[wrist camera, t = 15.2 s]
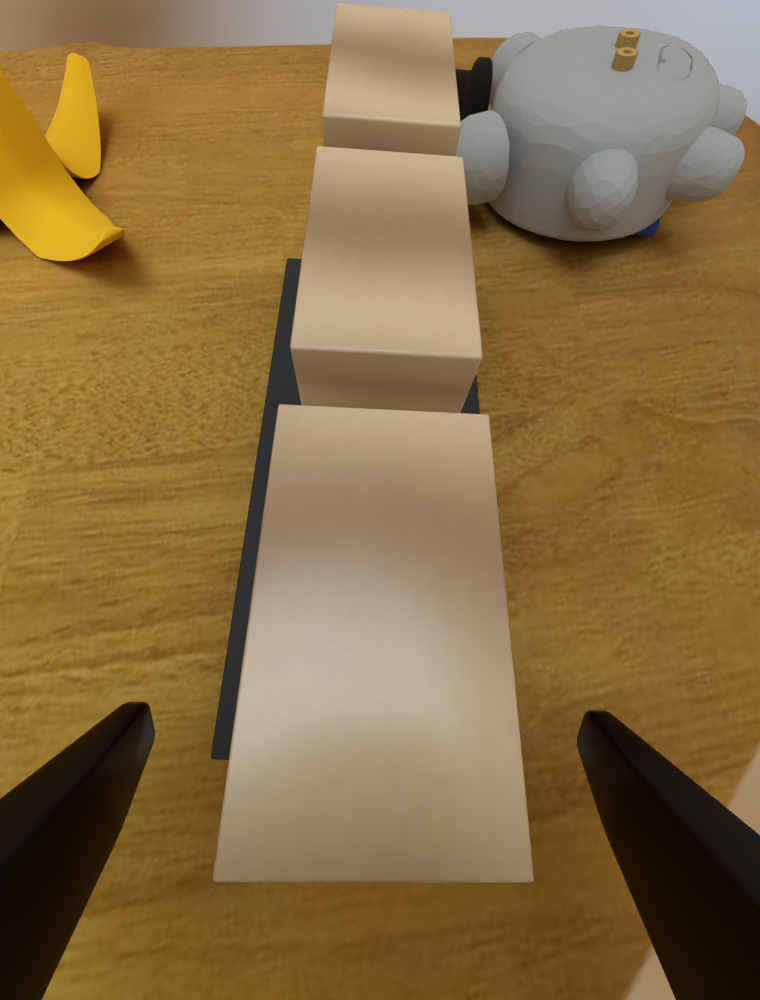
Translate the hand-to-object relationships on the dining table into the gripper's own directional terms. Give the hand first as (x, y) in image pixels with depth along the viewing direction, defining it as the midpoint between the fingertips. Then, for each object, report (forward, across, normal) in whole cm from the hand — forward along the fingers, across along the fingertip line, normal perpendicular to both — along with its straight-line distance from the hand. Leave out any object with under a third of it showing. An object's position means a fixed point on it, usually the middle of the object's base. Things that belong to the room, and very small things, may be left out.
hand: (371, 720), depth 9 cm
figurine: (+30, -12, -18) cm, 37 cm away
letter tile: (+7, 0, +4) cm, 8 cm away
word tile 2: (+13, 0, -2) cm, 13 cm away
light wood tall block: (+19, 0, -8) cm, 21 cm away
